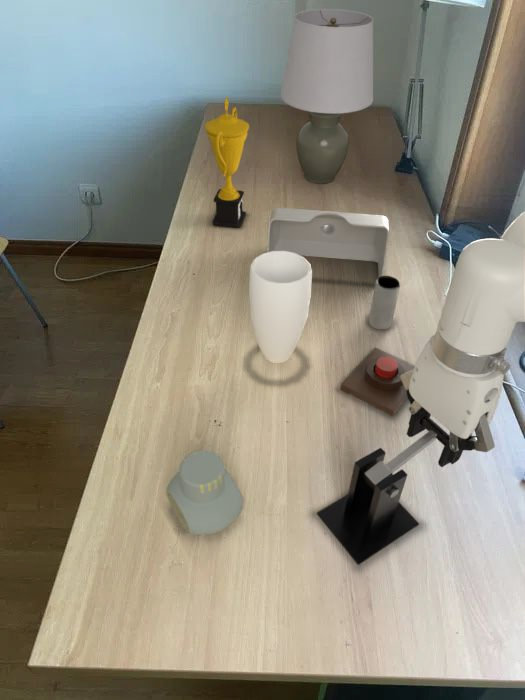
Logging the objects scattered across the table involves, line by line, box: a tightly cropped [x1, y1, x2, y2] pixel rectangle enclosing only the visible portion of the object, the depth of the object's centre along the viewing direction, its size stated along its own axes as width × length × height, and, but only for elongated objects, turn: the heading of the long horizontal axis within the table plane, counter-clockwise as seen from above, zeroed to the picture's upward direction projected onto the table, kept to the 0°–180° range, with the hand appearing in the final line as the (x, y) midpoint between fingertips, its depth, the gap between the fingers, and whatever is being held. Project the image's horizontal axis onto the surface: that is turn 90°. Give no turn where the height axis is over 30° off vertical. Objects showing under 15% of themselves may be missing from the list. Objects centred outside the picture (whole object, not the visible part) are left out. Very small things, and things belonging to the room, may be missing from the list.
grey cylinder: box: [368, 275, 401, 330], centre depth 108 cm, size 4×4×10 cm
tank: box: [266, 207, 390, 278], centre depth 123 cm, size 25×16×12 cm, turn 83°
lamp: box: [279, 8, 374, 185], centre depth 147 cm, size 24×24×40 cm
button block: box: [340, 347, 415, 417], centre depth 98 cm, size 12×10×4 cm
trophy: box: [204, 96, 250, 229], centre depth 130 cm, size 19×10×30 cm, turn 170°
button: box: [375, 357, 398, 379], centre depth 96 cm, size 4×4×2 cm
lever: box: [364, 416, 450, 490], centre depth 73 cm, size 12×5×2 cm, turn 123°
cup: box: [248, 251, 313, 364], centre depth 95 cm, size 10×10×22 cm
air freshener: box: [165, 449, 244, 536], centre depth 77 cm, size 11×8×10 cm
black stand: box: [316, 447, 420, 566], centre depth 75 cm, size 11×9×13 cm
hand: (431, 445), depth 76 cm, fingers closed on lever, 5 cm apart
